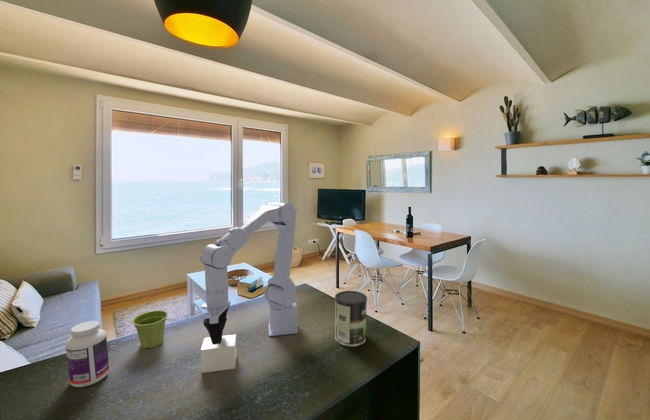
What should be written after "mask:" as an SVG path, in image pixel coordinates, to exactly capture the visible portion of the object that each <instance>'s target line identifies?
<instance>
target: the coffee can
mask: <svg viewBox="0 0 650 420" xmlns="http://www.w3.org/2000/svg"><path fill="white" fill-rule="evenodd" d="M334 300H335V302H334V303H335V304H334V305H335V310H334V312H335V314H334V315H335V316H334V317H335V319H334V321H335V323H334V324H335V325H334V329H335V331H334V339H335V341H336V342H337V343H338V344H340V345H343V346H346V347H359V346H362V345H363V344H364V343H365V342H366V341H367V340H366V339H367V336H366V335H367V301H368V296H367V295H366V294H365V293H363V292H360V291H354V290H343V291H339V292H338V293H336V294H335V295H334Z"/></svg>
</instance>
